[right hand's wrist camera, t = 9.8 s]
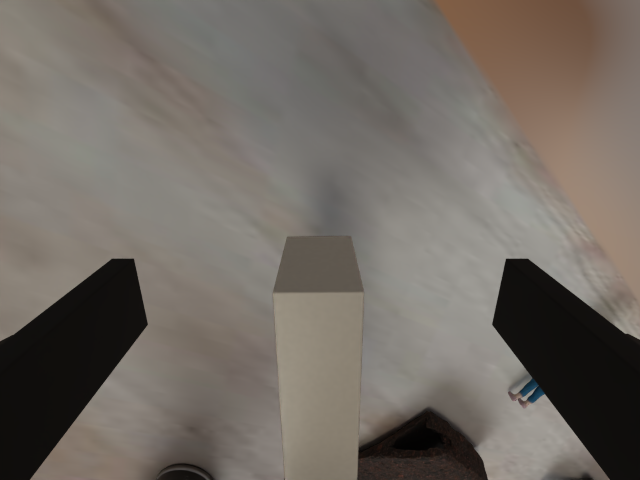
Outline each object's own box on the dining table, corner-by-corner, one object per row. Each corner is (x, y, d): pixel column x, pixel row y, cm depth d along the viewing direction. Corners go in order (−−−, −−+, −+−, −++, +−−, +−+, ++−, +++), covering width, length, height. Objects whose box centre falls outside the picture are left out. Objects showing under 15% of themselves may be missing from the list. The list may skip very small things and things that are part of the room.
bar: (286, 236, 28) (272, 292, 19) (351, 235, 28) (364, 291, 19) (297, 460, 36) (290, 568, 28) (346, 460, 36) (354, 567, 28)
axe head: (402, 526, 57) (332, 511, 51) (391, 470, 64) (328, 451, 57) (502, 487, 49) (434, 463, 43) (478, 428, 56) (416, 399, 49)
